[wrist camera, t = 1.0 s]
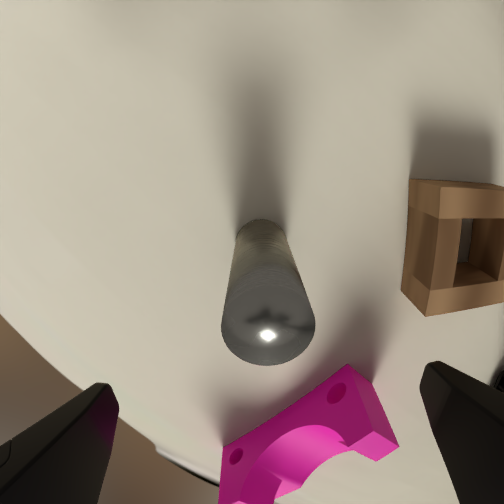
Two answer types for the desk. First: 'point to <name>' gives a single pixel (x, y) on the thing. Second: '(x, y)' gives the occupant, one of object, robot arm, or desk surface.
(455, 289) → the brown square frame
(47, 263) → the desk surface
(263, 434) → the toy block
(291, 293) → the metal canister
